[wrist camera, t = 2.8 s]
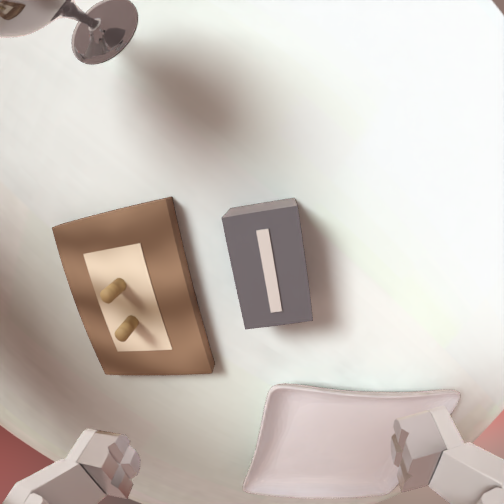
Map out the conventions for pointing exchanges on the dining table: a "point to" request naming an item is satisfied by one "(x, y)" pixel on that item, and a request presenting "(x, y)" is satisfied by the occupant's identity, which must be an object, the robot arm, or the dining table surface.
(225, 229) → the socket block
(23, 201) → the dining table surface
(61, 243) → the pin board
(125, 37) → the wine glass
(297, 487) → the salad plate
